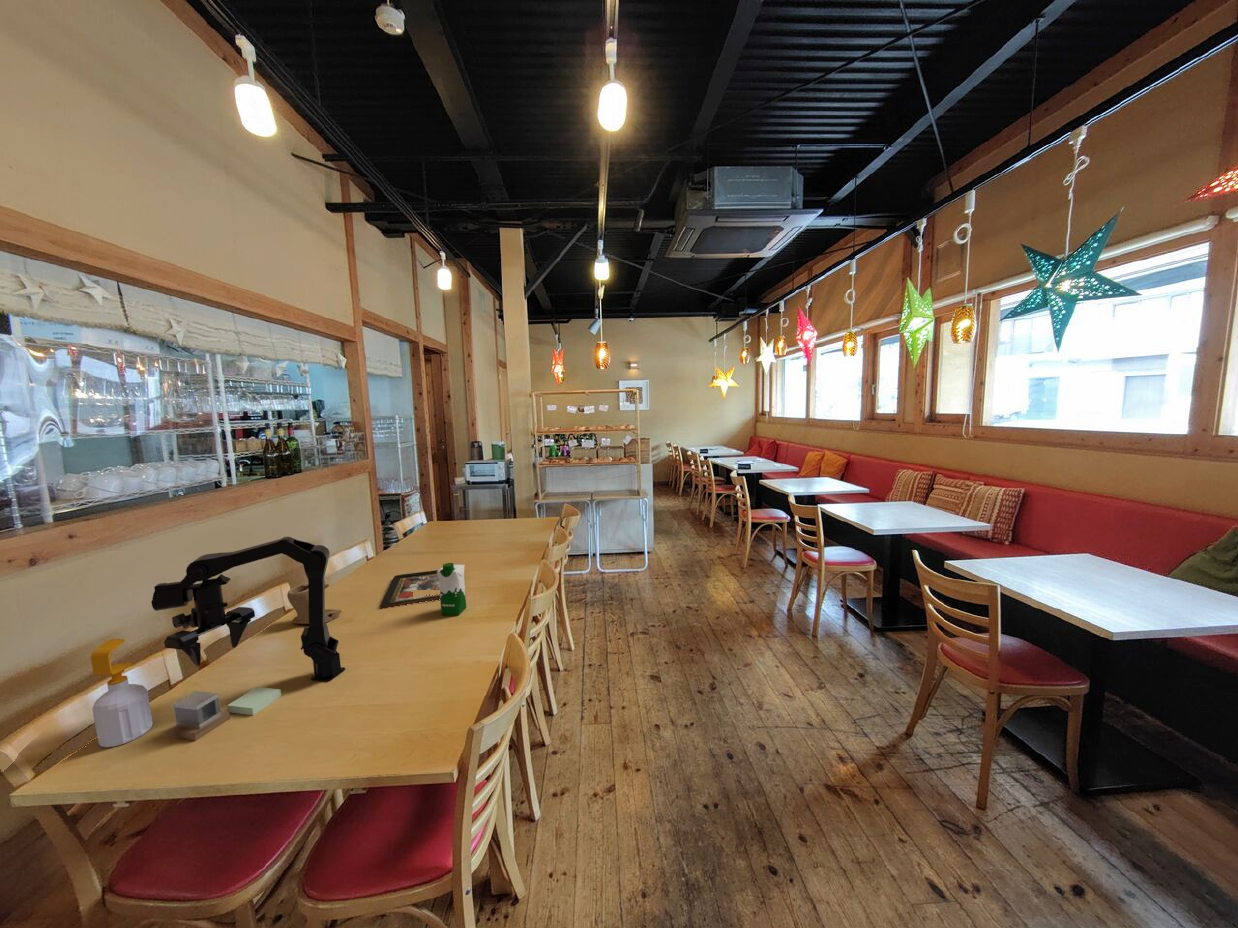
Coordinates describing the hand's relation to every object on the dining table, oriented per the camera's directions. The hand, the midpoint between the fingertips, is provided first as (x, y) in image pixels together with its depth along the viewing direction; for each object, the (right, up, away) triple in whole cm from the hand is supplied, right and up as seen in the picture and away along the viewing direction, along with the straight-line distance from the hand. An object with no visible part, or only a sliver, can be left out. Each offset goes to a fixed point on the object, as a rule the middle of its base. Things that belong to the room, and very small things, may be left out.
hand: (216, 655), depth 123 cm
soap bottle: (-12, -15, -11) cm, 22 cm away
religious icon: (+24, -4, +79) cm, 83 cm away
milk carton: (+46, -6, +54) cm, 71 cm away
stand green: (+11, -13, -1) cm, 17 cm away
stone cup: (-6, -8, +48) cm, 49 cm away
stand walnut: (+4, -14, -9) cm, 18 cm away
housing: (+4, -12, -10) cm, 16 cm away
